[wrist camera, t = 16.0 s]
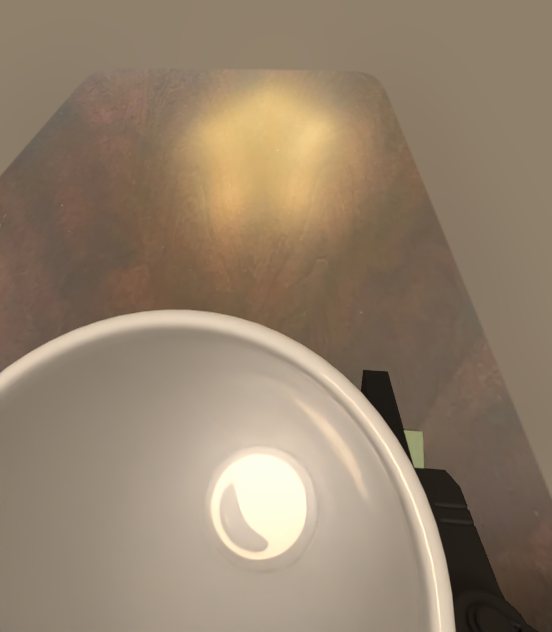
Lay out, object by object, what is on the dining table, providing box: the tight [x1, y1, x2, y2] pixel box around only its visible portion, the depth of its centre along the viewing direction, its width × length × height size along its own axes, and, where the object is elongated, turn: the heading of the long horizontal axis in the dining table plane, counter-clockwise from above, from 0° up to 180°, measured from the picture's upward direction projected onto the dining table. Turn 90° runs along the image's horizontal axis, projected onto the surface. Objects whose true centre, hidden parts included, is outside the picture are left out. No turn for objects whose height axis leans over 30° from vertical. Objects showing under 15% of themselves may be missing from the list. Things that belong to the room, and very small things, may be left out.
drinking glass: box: [0, 310, 456, 632], centre depth 11 cm, size 7×7×15 cm
